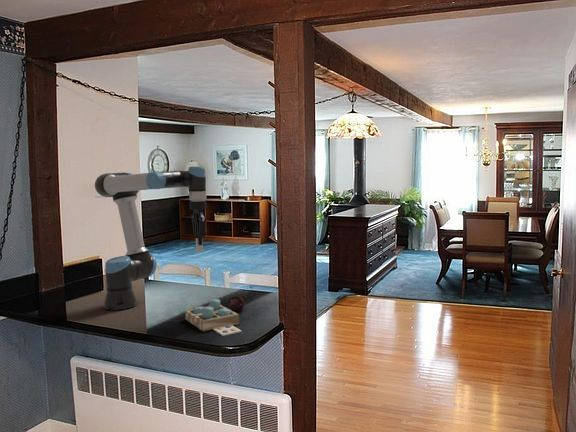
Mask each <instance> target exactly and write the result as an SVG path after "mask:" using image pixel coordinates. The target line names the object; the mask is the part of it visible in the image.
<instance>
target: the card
mask: <svg viewBox="0 0 576 432" xmlns="http://www.w3.org/2000/svg"><path fill="white" fill-rule="evenodd" d="M212 330H213V331H215V332H216V333H217V334H219V335H221V336H222V337H224V336H225V337H226V336H230V335H234V334H238V333H242V330H241V329H239V328H238V327H236V326H235V325H231V324H230V325H225V326H220V327H215V328H213V329H212Z"/></svg>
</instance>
